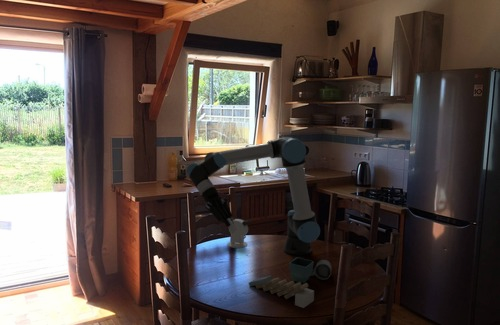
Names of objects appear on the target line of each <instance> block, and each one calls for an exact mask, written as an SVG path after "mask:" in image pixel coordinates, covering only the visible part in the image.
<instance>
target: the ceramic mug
mask: <svg viewBox="0 0 500 325" xmlns="http://www.w3.org/2000/svg"><path fill="white" fill-rule="evenodd" d="M314 276H315V277H316V278H317V279H319V280H321V281H322V280H324V281H325V280H328V279H329V278H330V277H331V276H332V263H330V261H328V260H326V259H320V260H319V261H317V263H316V264H315V267H314V268H313V270H312V274H311V276H310V277H314Z"/></svg>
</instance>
